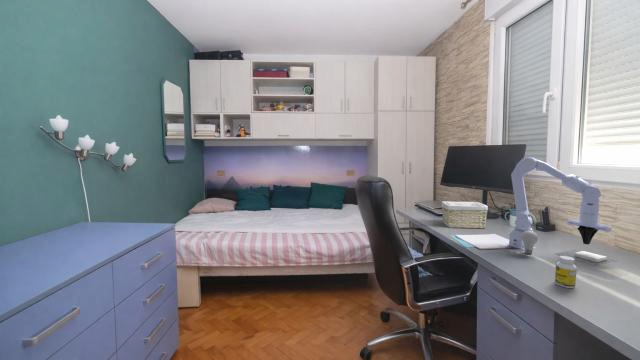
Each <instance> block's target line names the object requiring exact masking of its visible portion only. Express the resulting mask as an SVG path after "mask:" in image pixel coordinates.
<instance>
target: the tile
mask: <svg viewBox="0 0 640 360" xmlns="http://www.w3.org/2000/svg"><path fill="white" fill-rule="evenodd" d="M580 251H581V252H576V253H574V256H575V257H579V258H582V259H586V260H589V261H593V262H601V261H605V260H607V258H608V256H606V255H602V254H597V253H593V252H590V251H585V250H580Z"/></svg>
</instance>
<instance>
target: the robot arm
mask: <svg viewBox="0 0 640 360" xmlns="http://www.w3.org/2000/svg"><path fill="white" fill-rule="evenodd" d="M533 170H535V171H540V172H544V173H547V174H548V175H551V176H552V177H554V178H556V179H558V180H560V181H561V184H562V185H563V186H564V187H566V188H568V189H569V190H571V191H572V192H575V194H581V197H582V198H581V202H580V210H579V211H580V212H579V220H575V219H574V220H573V219H567V221H566V225H572V226H577V231H578V232H579V234H580V236H581V239H582V243H583V245H586V246H587V245H590V244H591V241H592V239H593V238H594V237H595V235H596V233H597V232H599V231H604V232H606V233H611V232H612V226H608V225H604V224H599V223H598V222H599V211H600V209H599V208H600V203H599V202H600V198H601V195H602V193H601V190H600V189H599V187H597V186H596V185H594V184H592V182H590V181H589V182H587V181H586V180H584V179H582V178H580V176H579V175H578V174H576V175H574V174H566V173H564V172H562V171H561V170H559V169H557V168H556V167H553V166H552V165H550V164H549V163H547V162H545V161H542V160H539V159H537V158H535V157H532V156H527V157H526V156H525V157H523V158H521V160H520V161H518V162H517V163H516V165H515V168H514V169H513V171H512V172H511V174H510V177H511V183H512V190H513V196H514V202H515V209H516V211H515V215H516V216H515V217H516V219H515V220H514V221H515V222H514V224H515V226H514V229H513V230H512V231H511V232H510V233H509V239H508V245H509V247H512V248H515V249H519V250H522V251H523V250H525V245H524V242H523V240H522V238H521V235H522V233H523V232H525V231H533V228H532V225H533V222H534V220H533V217H531V214H530V210H529V207H528V206H529V205H528V200H527V195H526V187H525V181H524V179H525V178H524V177H525V176H526V175H527V174H528V173H530V172H531V171H533ZM533 232H534V231H533ZM536 248H537V247H536V246H534V247H533V249H536Z"/></svg>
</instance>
